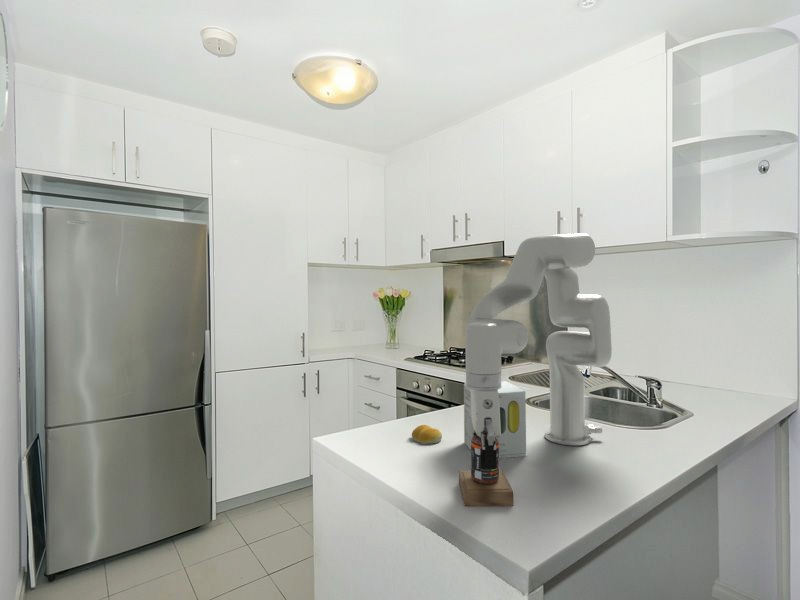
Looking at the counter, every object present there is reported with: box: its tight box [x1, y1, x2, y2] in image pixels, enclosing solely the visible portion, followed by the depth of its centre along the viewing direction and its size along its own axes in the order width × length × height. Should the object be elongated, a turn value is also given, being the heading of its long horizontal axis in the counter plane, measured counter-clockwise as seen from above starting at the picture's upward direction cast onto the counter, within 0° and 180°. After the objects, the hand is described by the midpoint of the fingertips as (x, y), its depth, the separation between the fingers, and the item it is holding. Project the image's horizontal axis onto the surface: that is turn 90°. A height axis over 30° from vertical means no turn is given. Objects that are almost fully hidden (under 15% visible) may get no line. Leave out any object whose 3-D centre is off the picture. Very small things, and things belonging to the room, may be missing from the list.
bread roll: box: [411, 424, 443, 445], centre depth 127 cm, size 8×9×4 cm
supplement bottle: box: [470, 432, 500, 484], centre depth 93 cm, size 6×6×11 cm
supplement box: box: [463, 380, 527, 459], centre depth 118 cm, size 13×13×18 cm
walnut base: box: [458, 470, 515, 507], centre depth 93 cm, size 10×10×3 cm
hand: (484, 458), depth 92 cm, fingers open, 9 cm apart
